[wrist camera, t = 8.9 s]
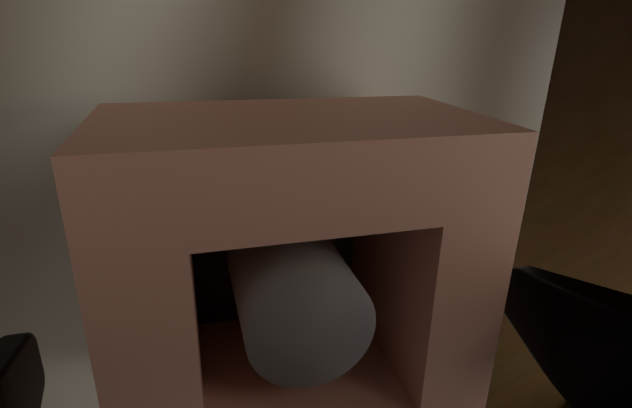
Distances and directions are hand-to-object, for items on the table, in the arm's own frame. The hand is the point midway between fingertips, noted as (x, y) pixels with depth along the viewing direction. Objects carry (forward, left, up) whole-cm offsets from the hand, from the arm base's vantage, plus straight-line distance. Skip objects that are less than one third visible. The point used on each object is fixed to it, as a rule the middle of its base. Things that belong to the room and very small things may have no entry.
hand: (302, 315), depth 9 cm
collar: (0, 0, -3) cm, 3 cm away
